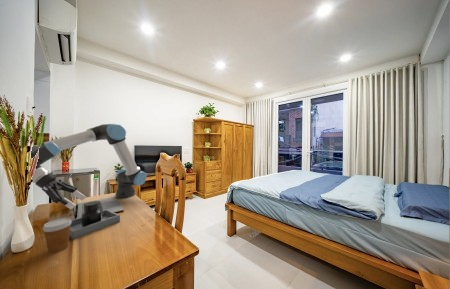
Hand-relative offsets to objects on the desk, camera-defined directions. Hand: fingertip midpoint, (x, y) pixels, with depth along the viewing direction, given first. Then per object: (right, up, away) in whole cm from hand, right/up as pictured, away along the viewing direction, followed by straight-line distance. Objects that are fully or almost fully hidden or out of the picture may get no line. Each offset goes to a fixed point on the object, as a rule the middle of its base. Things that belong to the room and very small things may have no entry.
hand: (79, 202), depth 96 cm
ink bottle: (+5, -13, +3) cm, 14 cm away
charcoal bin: (+5, -14, +3) cm, 15 cm away
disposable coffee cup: (+5, -15, -17) cm, 23 cm away
